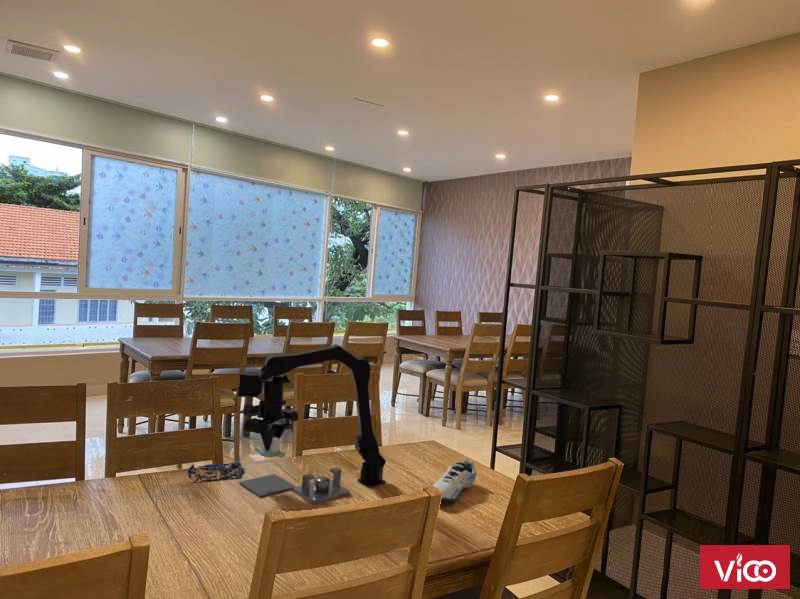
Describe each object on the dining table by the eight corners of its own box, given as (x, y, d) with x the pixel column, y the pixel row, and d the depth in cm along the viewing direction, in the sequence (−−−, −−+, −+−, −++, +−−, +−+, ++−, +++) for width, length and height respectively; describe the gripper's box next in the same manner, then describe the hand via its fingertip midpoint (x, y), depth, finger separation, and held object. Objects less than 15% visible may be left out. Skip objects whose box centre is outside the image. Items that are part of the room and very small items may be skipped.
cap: (289, 454, 168) (290, 438, 168) (277, 459, 163) (278, 443, 163) (263, 447, 172) (264, 432, 172) (250, 453, 167) (251, 437, 166)
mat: (274, 475, 176) (274, 473, 176) (295, 488, 168) (295, 486, 168) (239, 483, 168) (239, 481, 168) (259, 497, 160) (259, 495, 159)
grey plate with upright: (327, 481, 175) (329, 462, 174) (349, 494, 167) (351, 474, 167) (291, 491, 166) (293, 471, 165) (313, 504, 158) (315, 483, 158)
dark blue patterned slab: (190, 485, 166) (191, 480, 166) (186, 469, 177) (186, 464, 177) (247, 479, 174) (247, 475, 173) (239, 464, 185) (239, 459, 184)
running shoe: (419, 503, 164) (422, 473, 164) (453, 478, 186) (456, 451, 186) (447, 511, 160) (450, 480, 160) (479, 485, 182) (481, 458, 182)
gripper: (271, 387, 178) (269, 436, 179) (230, 397, 162) (227, 451, 163) (300, 393, 174) (297, 443, 174) (260, 404, 157) (257, 459, 158)
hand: (270, 448), depth 167 cm, fingers closed on cap, 2 cm apart
